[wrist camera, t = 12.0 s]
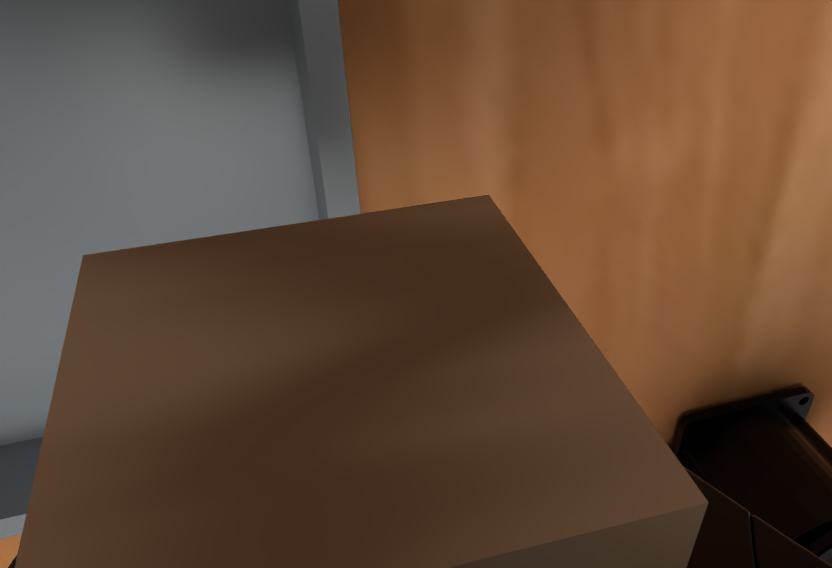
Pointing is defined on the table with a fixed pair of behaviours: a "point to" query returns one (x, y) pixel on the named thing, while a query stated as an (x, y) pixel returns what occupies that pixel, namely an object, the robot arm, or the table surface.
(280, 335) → the walnut cube
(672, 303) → the table surface
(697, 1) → the table surface
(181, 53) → the tote
